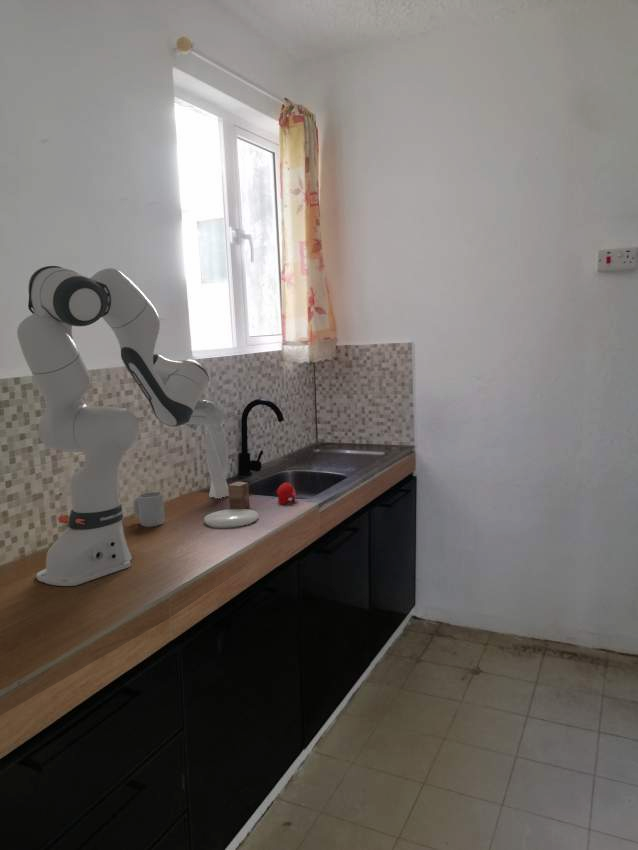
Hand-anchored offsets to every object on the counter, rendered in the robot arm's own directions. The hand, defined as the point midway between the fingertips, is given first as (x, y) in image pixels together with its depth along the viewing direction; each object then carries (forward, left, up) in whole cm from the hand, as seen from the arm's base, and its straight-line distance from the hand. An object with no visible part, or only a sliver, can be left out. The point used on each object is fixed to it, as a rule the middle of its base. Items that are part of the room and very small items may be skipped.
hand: (206, 429), depth 186 cm
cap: (+25, -10, -28) cm, 39 cm away
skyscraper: (+23, +16, -28) cm, 40 cm away
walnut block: (+13, 0, -28) cm, 31 cm away
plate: (+1, -6, -27) cm, 28 cm away
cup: (-11, +16, -28) cm, 34 cm away
